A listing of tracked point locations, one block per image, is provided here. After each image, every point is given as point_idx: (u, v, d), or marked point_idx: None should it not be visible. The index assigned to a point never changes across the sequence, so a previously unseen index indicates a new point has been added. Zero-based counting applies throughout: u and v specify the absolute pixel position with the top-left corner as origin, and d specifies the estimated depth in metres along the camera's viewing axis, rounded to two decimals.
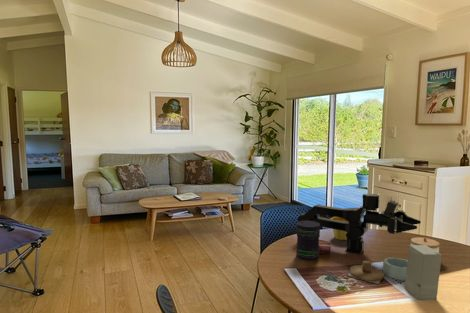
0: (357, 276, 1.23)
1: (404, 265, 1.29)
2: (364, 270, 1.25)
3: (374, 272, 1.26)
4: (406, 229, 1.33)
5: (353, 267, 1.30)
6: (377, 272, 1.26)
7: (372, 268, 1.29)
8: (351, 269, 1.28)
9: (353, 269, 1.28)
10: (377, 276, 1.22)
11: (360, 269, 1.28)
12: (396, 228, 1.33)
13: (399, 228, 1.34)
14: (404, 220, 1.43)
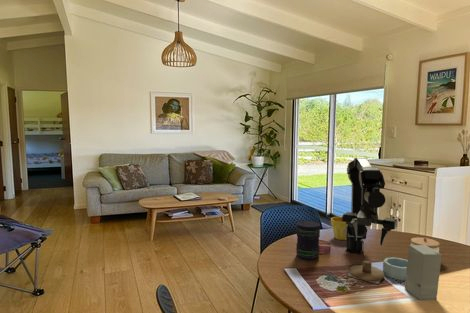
0: (357, 276, 1.23)
1: (404, 265, 1.29)
2: (364, 270, 1.25)
3: (374, 272, 1.26)
4: None
5: (353, 267, 1.30)
6: (377, 272, 1.26)
7: (372, 268, 1.29)
8: (351, 269, 1.28)
9: (353, 269, 1.28)
10: (377, 276, 1.22)
11: (360, 269, 1.28)
12: None
13: None
14: None
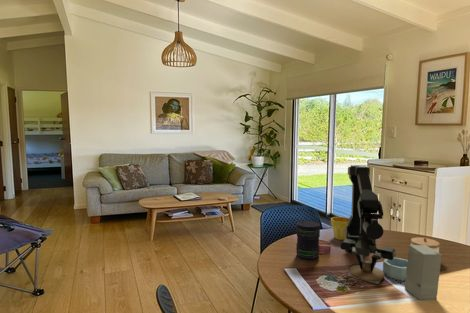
0: (357, 276, 1.23)
1: (404, 265, 1.29)
2: (364, 270, 1.25)
3: (374, 271, 1.26)
4: None
5: (353, 267, 1.30)
6: (377, 271, 1.26)
7: None
8: (351, 269, 1.28)
9: (353, 269, 1.28)
10: (377, 276, 1.22)
11: (360, 269, 1.28)
12: None
13: None
14: None
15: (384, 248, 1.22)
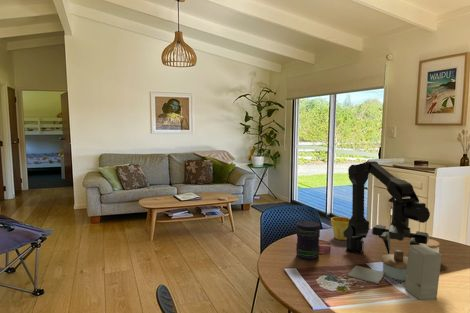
0: (390, 264, 1.23)
1: None
2: (396, 259, 1.26)
3: (406, 260, 1.26)
4: None
5: (384, 256, 1.30)
6: None
7: (403, 257, 1.29)
8: (382, 258, 1.28)
9: (384, 258, 1.28)
10: None
11: (391, 258, 1.28)
12: None
13: None
14: (411, 241, 1.24)
15: (417, 233, 1.22)
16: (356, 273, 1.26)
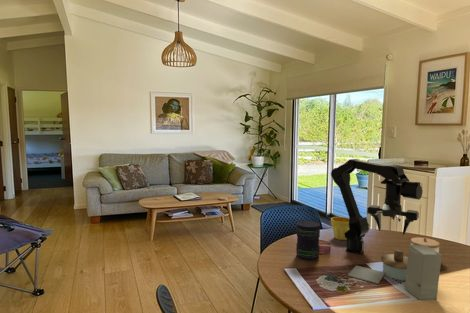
0: (390, 264, 1.23)
1: None
2: (396, 259, 1.26)
3: (406, 260, 1.26)
4: None
5: (384, 256, 1.30)
6: None
7: (403, 257, 1.29)
8: (382, 258, 1.28)
9: (384, 258, 1.28)
10: None
11: (391, 258, 1.28)
12: None
13: None
14: None
15: (408, 211, 1.33)
16: (356, 273, 1.26)
